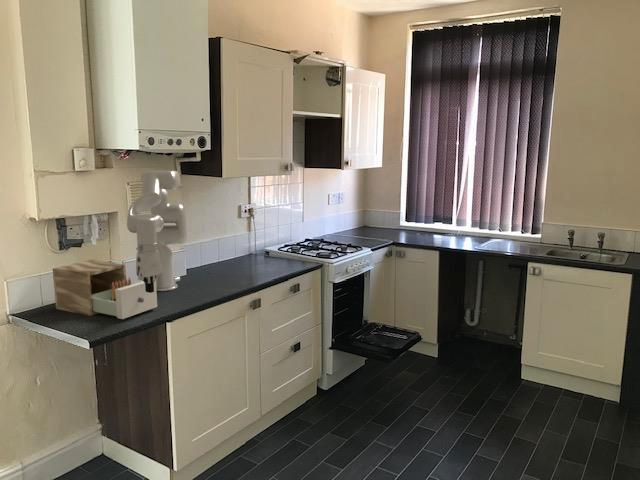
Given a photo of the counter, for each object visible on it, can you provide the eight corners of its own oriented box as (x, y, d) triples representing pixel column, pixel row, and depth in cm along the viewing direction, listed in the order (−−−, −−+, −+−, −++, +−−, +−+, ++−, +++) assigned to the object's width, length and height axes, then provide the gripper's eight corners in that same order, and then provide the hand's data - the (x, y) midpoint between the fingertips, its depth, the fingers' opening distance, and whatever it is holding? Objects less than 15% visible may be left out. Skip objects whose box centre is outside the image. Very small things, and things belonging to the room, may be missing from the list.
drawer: (119, 299, 245) (117, 273, 243) (159, 307, 233) (158, 280, 231) (83, 311, 228) (81, 283, 226) (124, 319, 217) (122, 290, 214)
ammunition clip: (114, 310, 225) (112, 282, 223) (111, 309, 226) (109, 282, 224) (134, 303, 235) (132, 277, 233) (131, 303, 236) (129, 276, 233)
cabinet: (94, 297, 253) (91, 259, 250) (127, 303, 243) (125, 264, 240) (56, 308, 236) (52, 268, 233) (90, 316, 226) (87, 274, 223)
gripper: (140, 251, 210) (142, 297, 213) (167, 245, 223) (169, 288, 226) (126, 250, 213) (129, 295, 216) (154, 244, 226) (156, 286, 229)
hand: (149, 291), depth 221 cm, fingers closed
